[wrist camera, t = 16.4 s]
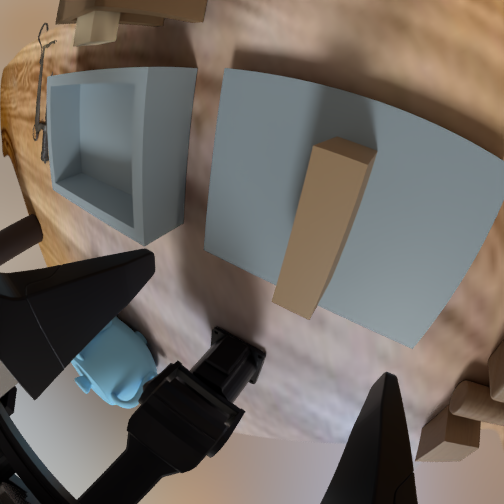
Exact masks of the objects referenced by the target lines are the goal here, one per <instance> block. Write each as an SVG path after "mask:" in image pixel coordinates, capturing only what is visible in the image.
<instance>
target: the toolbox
mask: <svg viewBox="0 0 504 504" xmlns="http://www.w3.org/2000/svg"><path fill="white" fill-rule="evenodd" d="M206 4H207V0H60V3H59V7H58V13H57V18H56V24H72V23H77V18H78V17H80V16H82V15H85V14H87V13H89V12H92V11H112V12H121V13H120V18H119V24H130V25H142V26H151V27H156V26H163V23H164V18H169V19H175V20H180V21H185V22H190V23H196V22H203V20H204V15H205V9H206ZM196 75H197V68H184V67H128V68H111V69H99V70H90V71H81V72H74V73H67V74H61V75H55V76H49V77H47V134H48V150H49V161H50V171H51V179H52V186H53V190H54V191H56V192H57V193H59V194H60V195H62V196H63V197H65V198H66V199H68V200H70V201H71V202H73V203H74V204H76V205H77V206H79V207H81V208H82V209H84V210H85V211H87V212H88V213H90V214H92V215H93V216H95V217H96V218H98V219H100V220H101V221H103V222H104V223H106V224H108V225H109V226H111V227H113V228H114V229H116V230H118V231H119V232H121V233H123V234H124V235H126V236H128V237H129V238H131V239H133V240H134V241H136V242H138V243H139V244H141V245H143V246H144V247H145V246H146V245H148V244H150V243H151V242H153V241H154V240H156V239H158V238H159V237H161V236H163V235H164V234H166V233H168V232H170V231H171V230H173V229H175V228H176V227H178V226H180V225H181V224H183V221H184V201H185V184H186V170H187V157H188V145H189V135H190V125H191V115H192V107H193V98H194V90H195V83H196Z"/></svg>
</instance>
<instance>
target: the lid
mask: <svg viewBox="0 0 504 504" xmlns="http://www.w3.org/2000/svg"><path fill="white" fill-rule="evenodd" d="M503 200H504V161H503V160H501V159H500V158H498V157H496V156H495V155H493V154H491V153H490V152H488V151H486V150H485V149H483V148H481V147H479V146H478V145H476V144H474V143H472V142H470V141H468V140H467V139H465V138H463V137H461V136H459V135H457V134H455V133H453V132H451V131H449V130H447V129H445V128H443V127H441V126H438V125H436V124H434V123H432V122H430V121H427V120H425V119H423V118H420V117H418V116H416V115H413V114H411V113H408V112H406V111H403V110H401V109H398V108H395V107H393V106H390V105H387V104H384V103H382V102H379V101H376V100H373V99H370V98H367V97H364V96H361V95H357V94H354V93H351V92H347V91H344V90H340V89H337V88H333V87H329V86H325V85H321V84H317V83H313V82H308V81H304V80H299V79H294V78H289V77H284V76H279V75H273V74H267V73H261V72H254V71H247V70H239V69H230V68H225V70H224V76H223V82H222V89H221V96H220V103H219V110H218V117H217V125H216V133H215V141H214V149H213V157H212V166H211V175H210V185H209V195H208V205H207V216H206V228H205V240H204V250H205V251H207V252H209V253H211V254H213V255H215V256H217V257H219V258H221V259H223V260H225V261H227V262H229V263H231V264H233V265H235V266H237V267H239V268H241V269H243V270H245V271H247V272H249V273H251V274H253V275H255V276H258V277H260V278H262V279H264V280H266V281H268V282H270V283H272V284H274V285H276V288H275V292H274V295H273V299H272V302H273V303H275V304H277V305H279V306H281V307H283V308H285V309H287V310H289V311H291V312H293V313H296V314H298V315H300V316H302V317H304V318H306V319H308V320H310V318H311V316H312V314H313V312H314V311H315V309H316V307H317V305H318V306H320V307H322V308H324V309H327V310H329V311H331V312H333V313H335V314H337V315H339V316H341V317H344V318H346V319H348V320H350V321H352V322H354V323H357V324H359V325H361V326H363V327H365V328H367V329H370V330H372V331H374V332H376V333H378V334H381V335H383V336H385V337H387V338H389V339H392V340H394V341H396V342H398V343H400V344H403V345H405V346H407V347H409V348H412V349H413V348H414V346H415V345H416V344H417V343H418V341H419V340H420V339H421V338H422V336H423V335H424V334H425V333H426V331H427V330H428V329H429V327H430V326H431V325H432V323H433V322H434V321H435V319H436V318H437V316H438V315H439V314H440V312H441V311H442V309H443V308H444V307H445V305H446V304H447V302H448V301H449V299H450V298H451V296H452V295H453V293H454V292H455V290H456V289H457V287H458V286H459V284H460V282H461V281H462V279H463V278H464V276H465V274H466V273H467V271H468V269H469V268H470V266H471V264H472V262H473V261H474V259H475V257H476V255H477V254H478V252H479V250H480V248H481V246H482V244H483V243H484V241H485V239H486V237H487V235H488V233H489V231H490V229H491V227H492V225H493V223H494V220H495V218H496V216H497V214H498V212H499V210H500V207H501V205H502V203H503Z"/></svg>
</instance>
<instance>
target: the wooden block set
mask: <svg viewBox="0 0 504 504" xmlns="http://www.w3.org/2000/svg"><path fill="white" fill-rule="evenodd" d="M488 368H489V379H490V387H487V386H484V385H480V384H477V383H474V382H470V381H467V380H466V381H462V382H461V383H460V384H459V385H458V386H457V387H456V389H455V391H454V392H453V395H452V397H451V400H450V405H448V406H447V407H445V408H444V409H443V410H442V411H441V412H440V413H439V414H438V415H437V416H436V417H435V418H433V419H432V420H431V421H430V422H429V423H428V424H427V425H425V426H424V427H423V428H422V432H421V437H420V442H419V446H418V451H417V455H416V459H415V461H422V462H426V461H427V462H452V461H461V460H462V459H464V458H465V457H467V456H468V455H470V454H471V453H473V452H474V451H476V450H477V449H478V448H479V442H480V424H481V421H482V422H487V423H491V424H496V425H501V426H504V340H503V341H502V343H501V344H500V345H499V347H498V348H497V349H496V350H495V352H494V353H493V354H492V356H491V357H490V358H489V360H488Z"/></svg>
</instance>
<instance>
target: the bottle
mask: <svg viewBox="0 0 504 504" xmlns="http://www.w3.org/2000/svg"><path fill="white" fill-rule="evenodd" d="M42 239H43V235H42V230H41V227H40V224H39V222H38V220H37V218H36V217H35V216H34V215H33V214H31V215H29V216H27V217H25V218H23V219H21V220H20V221H17V222H16V223H14V224H12V225H10V226H8V227H6V228H5V229H3V230H1V231H0V265H2V264H4V263H5V262H7V261H9V260H10V259H12V258H13V257H15V256H17V255H18V254H20V253H22V252H23V251H25V250H27V249H28V248H30V247H32V246H33V245H35V244H37V243H39V242H41V241H42Z"/></svg>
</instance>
